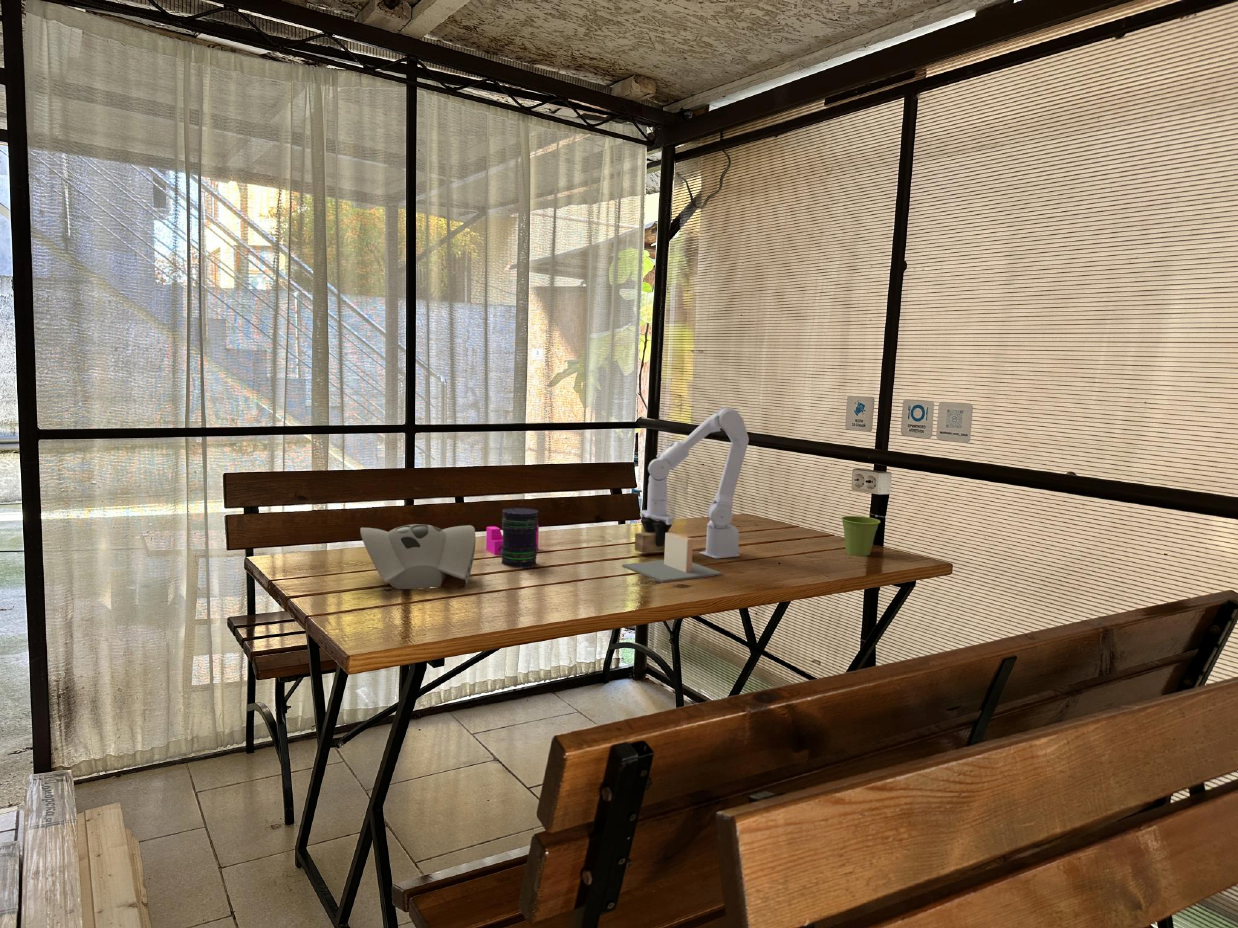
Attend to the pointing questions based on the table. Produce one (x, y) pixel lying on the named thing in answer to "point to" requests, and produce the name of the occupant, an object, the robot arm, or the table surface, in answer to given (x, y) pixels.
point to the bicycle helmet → (422, 555)
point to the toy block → (498, 540)
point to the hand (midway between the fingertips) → (655, 544)
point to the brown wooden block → (647, 542)
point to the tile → (678, 552)
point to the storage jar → (519, 537)
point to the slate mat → (669, 571)
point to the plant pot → (859, 534)
